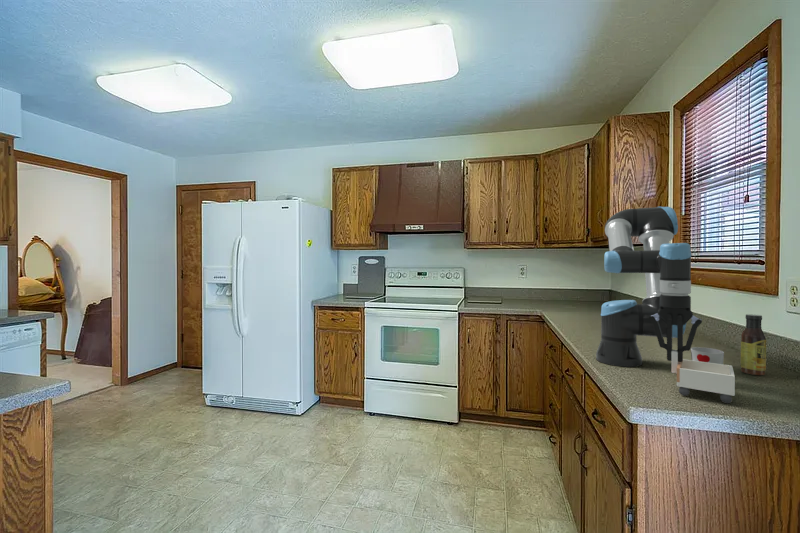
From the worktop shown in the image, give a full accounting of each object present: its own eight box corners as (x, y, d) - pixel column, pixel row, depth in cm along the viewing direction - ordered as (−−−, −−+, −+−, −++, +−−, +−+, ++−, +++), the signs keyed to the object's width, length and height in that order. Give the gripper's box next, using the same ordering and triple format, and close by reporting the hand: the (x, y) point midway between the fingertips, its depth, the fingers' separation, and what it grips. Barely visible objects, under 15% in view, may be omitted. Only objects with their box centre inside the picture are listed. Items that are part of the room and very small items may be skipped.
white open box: (676, 394, 106) (676, 368, 106) (678, 382, 116) (679, 358, 115) (734, 404, 98) (734, 376, 98) (731, 391, 108) (732, 365, 107)
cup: (684, 377, 121) (684, 347, 121) (707, 376, 122) (707, 346, 121) (706, 386, 113) (707, 354, 113) (731, 385, 113) (731, 353, 113)
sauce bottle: (761, 377, 120) (761, 317, 119) (736, 372, 125) (737, 314, 125) (769, 374, 123) (770, 315, 122) (745, 369, 128) (745, 312, 128)
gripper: (647, 294, 112) (647, 371, 113) (702, 296, 104) (702, 379, 104) (650, 292, 118) (650, 365, 118) (703, 294, 109) (702, 372, 110)
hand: (674, 371), depth 111 cm, fingers closed
